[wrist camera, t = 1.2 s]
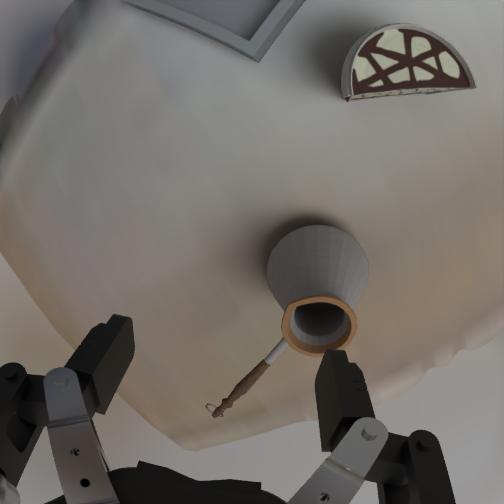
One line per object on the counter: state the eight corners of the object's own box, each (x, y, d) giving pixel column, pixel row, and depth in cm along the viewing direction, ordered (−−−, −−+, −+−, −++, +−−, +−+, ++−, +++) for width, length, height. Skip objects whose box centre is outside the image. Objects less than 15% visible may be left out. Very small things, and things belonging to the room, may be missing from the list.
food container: (425, 42, 24) (463, 20, 15) (438, 94, 27) (482, 87, 17) (320, 50, 27) (325, 23, 18) (334, 104, 30) (345, 96, 20)
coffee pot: (315, 196, 34) (320, 248, 20) (383, 261, 35) (418, 340, 22) (205, 311, 43) (164, 390, 29) (268, 358, 44) (251, 443, 31)
